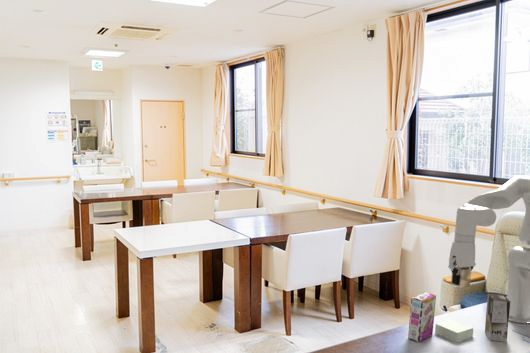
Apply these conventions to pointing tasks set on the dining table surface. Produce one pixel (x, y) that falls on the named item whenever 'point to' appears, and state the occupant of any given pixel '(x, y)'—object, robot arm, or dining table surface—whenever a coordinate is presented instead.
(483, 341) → the dining table surface
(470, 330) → the sage base block
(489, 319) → the coffee box
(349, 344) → the dining table surface
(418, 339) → the candy bar box
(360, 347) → the dining table surface
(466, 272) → the beech block
